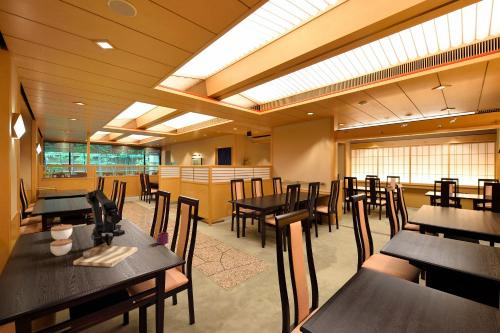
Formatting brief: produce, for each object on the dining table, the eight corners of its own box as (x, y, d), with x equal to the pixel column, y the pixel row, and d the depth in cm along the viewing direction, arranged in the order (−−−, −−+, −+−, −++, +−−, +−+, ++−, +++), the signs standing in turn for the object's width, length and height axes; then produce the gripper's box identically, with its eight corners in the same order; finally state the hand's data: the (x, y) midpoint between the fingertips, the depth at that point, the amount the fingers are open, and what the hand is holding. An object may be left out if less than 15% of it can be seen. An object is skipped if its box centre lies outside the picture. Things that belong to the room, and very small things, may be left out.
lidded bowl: (75, 238, 172) (75, 223, 172) (54, 243, 161) (54, 227, 161) (68, 235, 179) (68, 221, 179) (48, 239, 168) (48, 224, 168)
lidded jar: (73, 253, 143) (73, 238, 143) (51, 258, 135) (51, 243, 135) (70, 249, 150) (70, 235, 150) (49, 253, 142) (49, 238, 142)
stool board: (73, 264, 128) (73, 260, 128) (104, 248, 152) (104, 245, 152) (111, 266, 125) (111, 262, 125) (137, 250, 149) (137, 247, 149)
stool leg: (86, 258, 130) (86, 253, 130) (81, 257, 131) (81, 252, 131) (113, 246, 150) (113, 241, 150) (108, 245, 150) (108, 241, 150)
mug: (170, 242, 166) (170, 232, 166) (160, 246, 156) (160, 236, 156) (162, 240, 168) (162, 231, 168) (152, 245, 159) (152, 235, 159)
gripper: (130, 219, 152) (131, 242, 152) (106, 218, 155) (106, 241, 155) (118, 223, 141) (118, 248, 141) (92, 222, 144) (92, 246, 144)
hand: (109, 246), depth 146 cm, fingers closed
